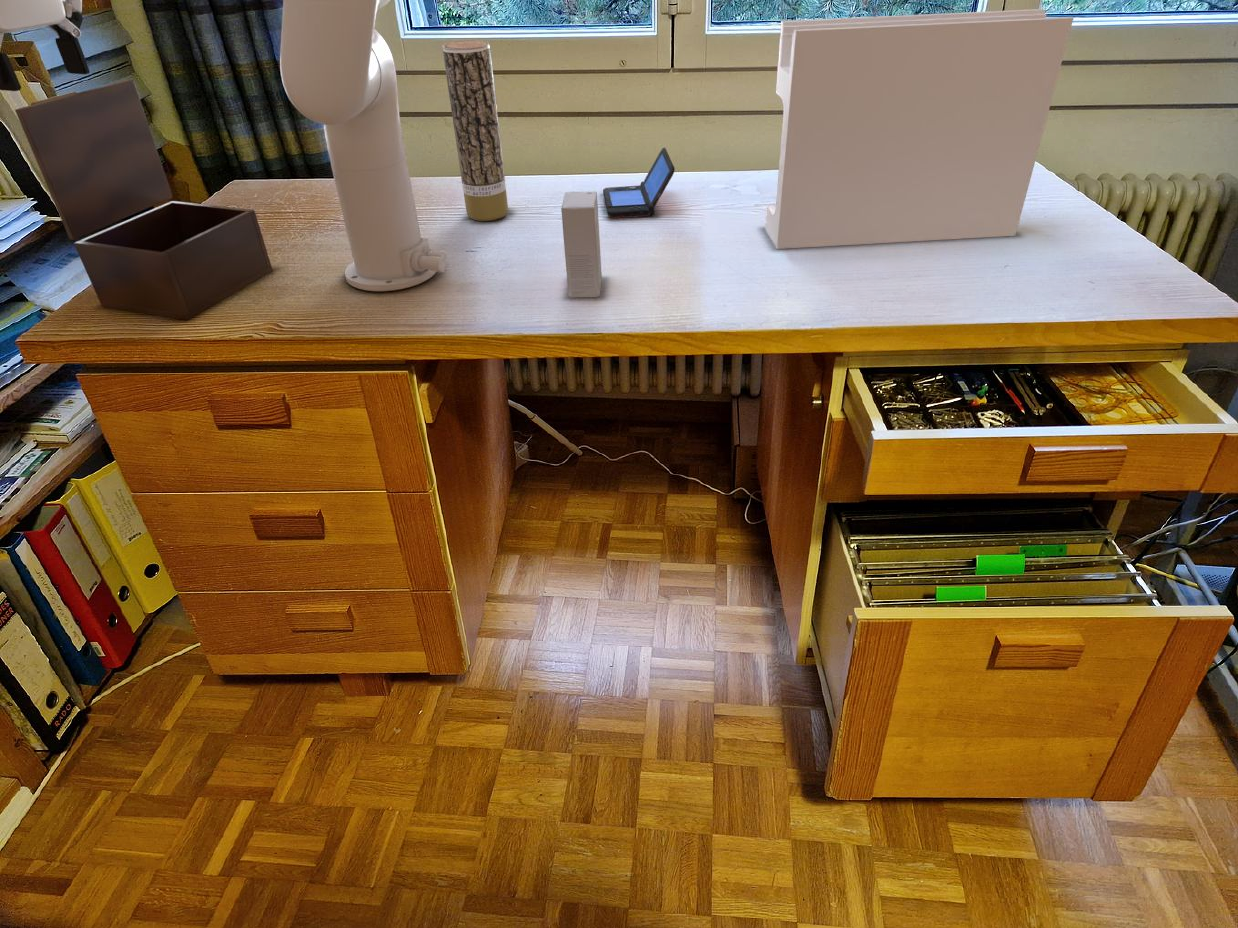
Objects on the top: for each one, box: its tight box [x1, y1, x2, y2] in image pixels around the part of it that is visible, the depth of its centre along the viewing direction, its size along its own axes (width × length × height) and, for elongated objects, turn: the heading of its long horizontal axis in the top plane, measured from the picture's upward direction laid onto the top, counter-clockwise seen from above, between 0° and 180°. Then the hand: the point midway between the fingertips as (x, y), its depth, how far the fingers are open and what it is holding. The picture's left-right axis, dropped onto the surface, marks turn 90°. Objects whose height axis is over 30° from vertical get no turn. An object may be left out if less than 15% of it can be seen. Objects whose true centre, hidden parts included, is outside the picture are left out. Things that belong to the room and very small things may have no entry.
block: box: [764, 8, 1074, 250], centre depth 112 cm, size 35×8×28 cm, turn 94°
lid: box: [14, 78, 173, 240], centre depth 105 cm, size 16×17×5 cm
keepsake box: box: [73, 200, 274, 321], centre depth 110 cm, size 15×17×9 cm
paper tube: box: [441, 40, 509, 222], centre depth 125 cm, size 7×7×25 cm
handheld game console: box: [602, 147, 676, 219], centre depth 132 cm, size 12×11×7 cm
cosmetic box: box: [561, 190, 603, 299], centre depth 104 cm, size 6×4×12 cm
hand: (46, 81), depth 100 cm, fingers open, 9 cm apart
